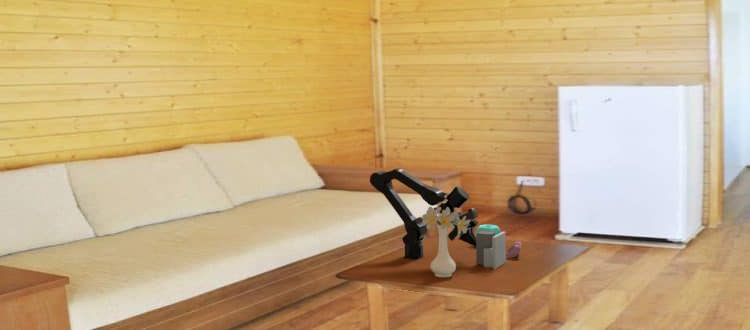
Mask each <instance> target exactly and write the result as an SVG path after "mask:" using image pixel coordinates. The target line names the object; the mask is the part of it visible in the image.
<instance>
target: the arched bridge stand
mask: <svg viewBox="0 0 750 330" xmlns="http://www.w3.org/2000/svg"><path fill="white" fill-rule="evenodd" d="M506 233H507V232H506V231H501V233H499V234H497V235H495V236H494V237H492V248H484V265H483V267H484V268H491V267H492V270H496V269H498V268H499V267H502V265H504V264H505V263H506V262H507V260H506V259H507V247H506V246H507V245H506V244H507V242H506V241H507V236H506V235H507V234H506Z"/></svg>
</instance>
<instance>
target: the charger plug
mask: <svg viewBox="0 0 750 330" xmlns="http://www.w3.org/2000/svg"><path fill="white" fill-rule="evenodd" d="M475 233H476V232H475ZM494 236H495V232H488V231H480V232H478V233H476V247H475V249H476V251H475V252H476V258H475V261H476V262H475V263H476V264H477V265H483V266H484V248H492V237H494Z"/></svg>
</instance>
